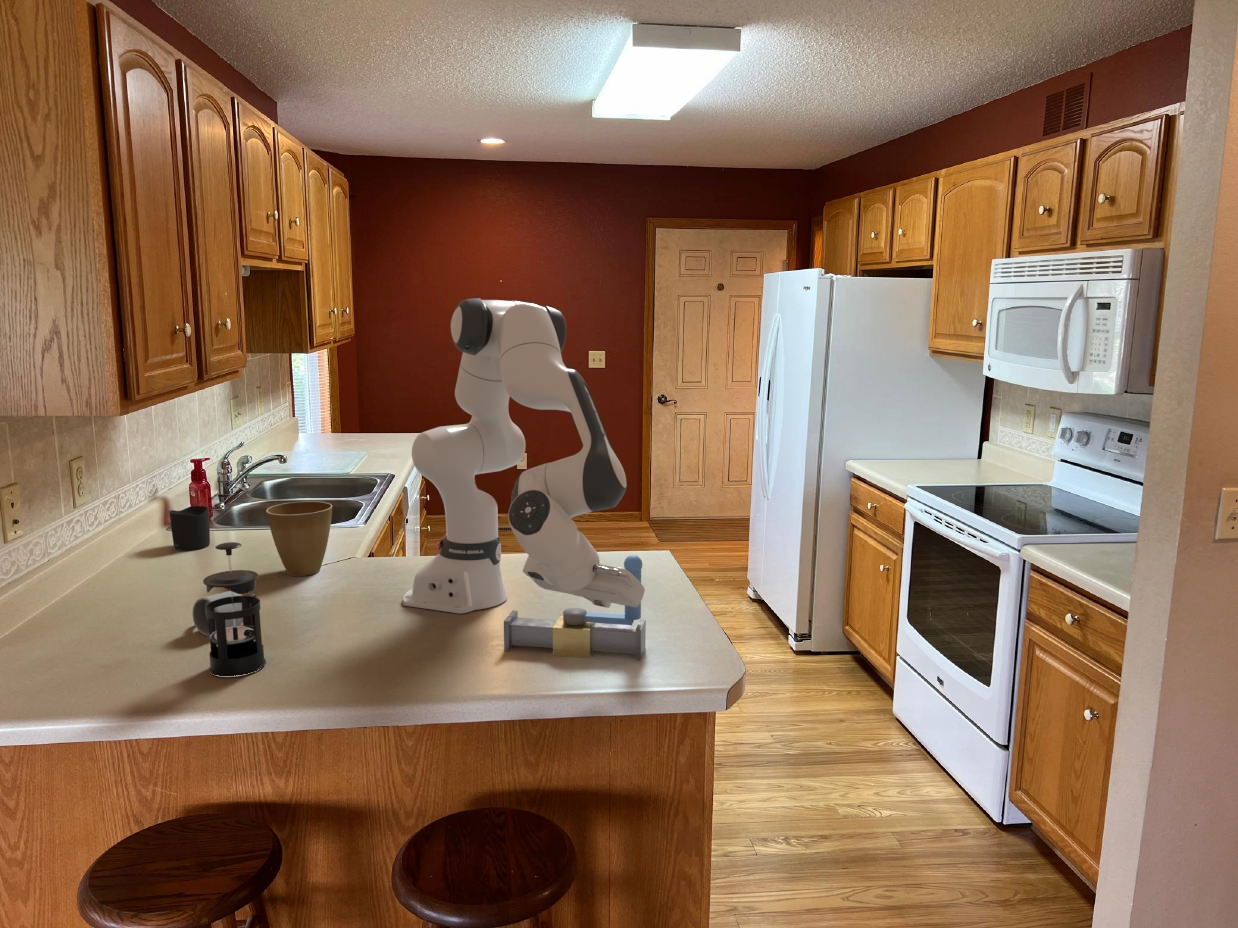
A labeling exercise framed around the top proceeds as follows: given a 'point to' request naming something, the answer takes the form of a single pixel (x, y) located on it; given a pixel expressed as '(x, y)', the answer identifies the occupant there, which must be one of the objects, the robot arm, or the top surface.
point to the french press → (235, 644)
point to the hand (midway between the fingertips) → (603, 602)
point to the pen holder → (190, 528)
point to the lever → (631, 613)
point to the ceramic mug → (200, 611)
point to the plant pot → (301, 534)
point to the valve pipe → (574, 636)
